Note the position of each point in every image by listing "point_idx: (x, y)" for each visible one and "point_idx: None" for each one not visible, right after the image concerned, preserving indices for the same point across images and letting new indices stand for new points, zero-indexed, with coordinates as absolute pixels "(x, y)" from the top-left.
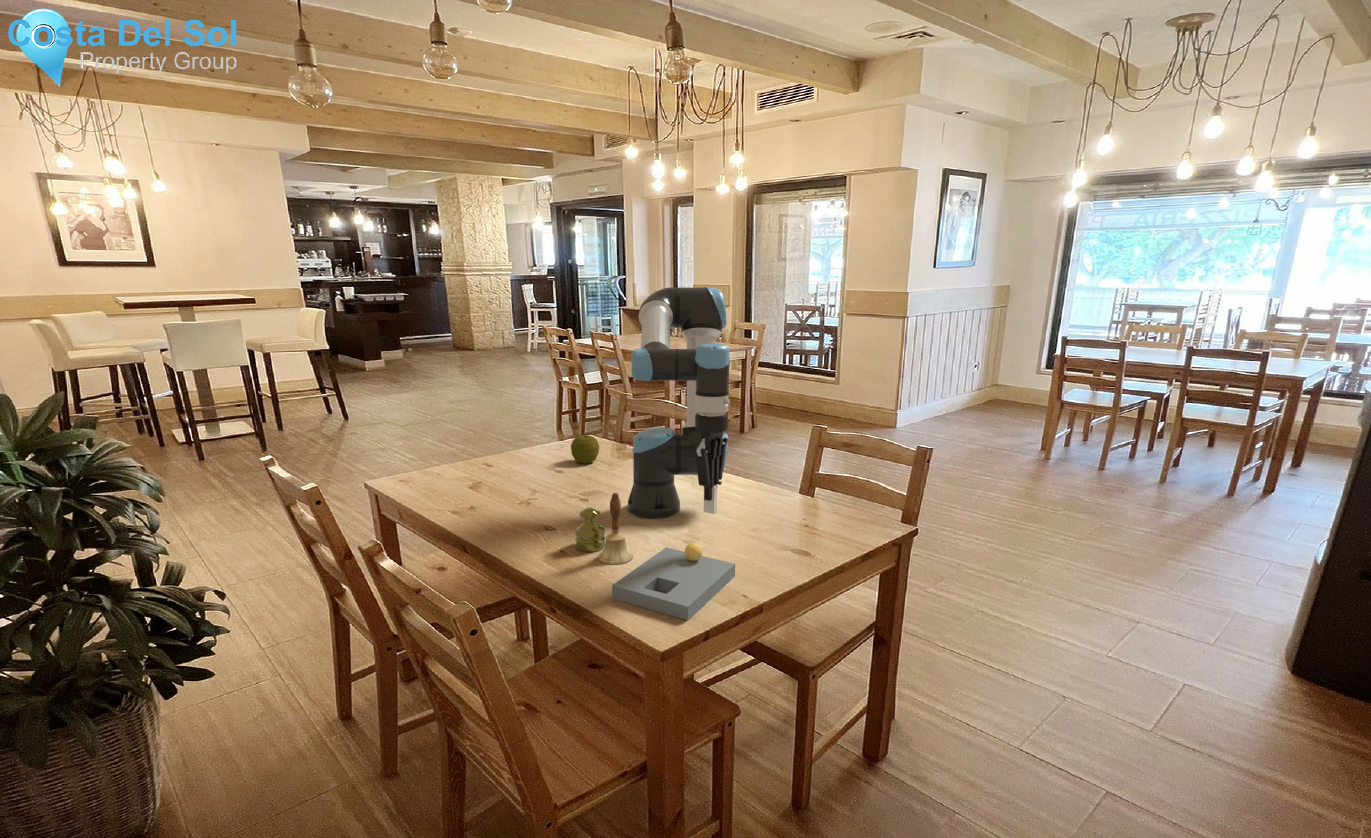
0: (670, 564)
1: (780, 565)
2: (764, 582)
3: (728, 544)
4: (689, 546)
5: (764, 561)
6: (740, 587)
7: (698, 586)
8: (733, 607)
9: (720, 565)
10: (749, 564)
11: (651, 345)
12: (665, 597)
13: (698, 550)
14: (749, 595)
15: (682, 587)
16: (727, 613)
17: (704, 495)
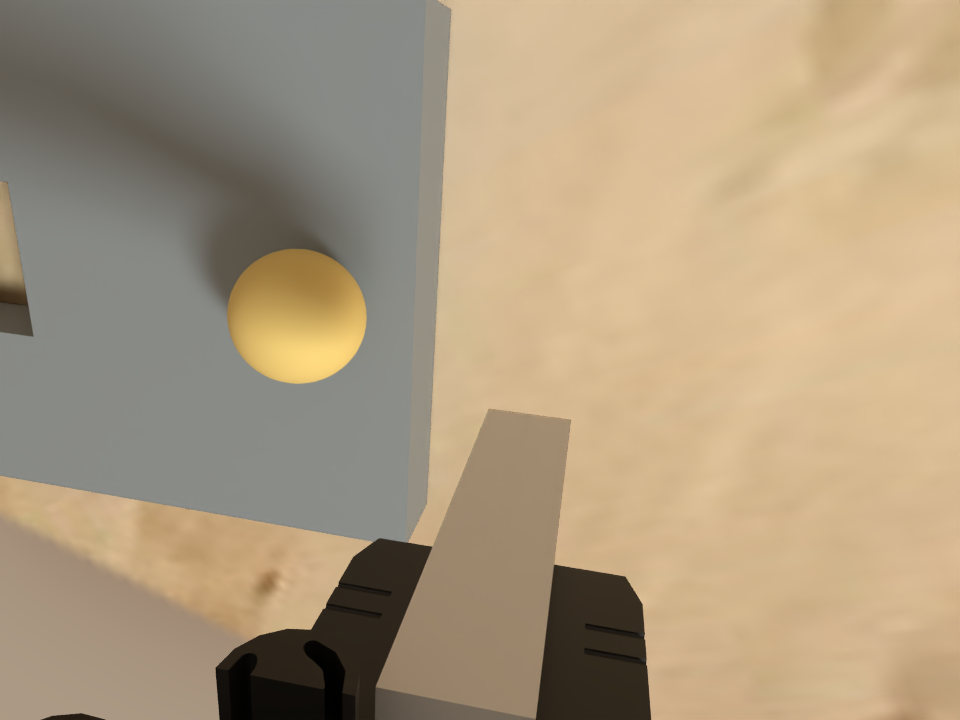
0: (188, 180)
1: (659, 685)
2: None
3: (887, 348)
4: (236, 311)
5: (680, 607)
6: (329, 552)
7: (65, 440)
8: (153, 561)
9: (341, 477)
10: (605, 542)
11: None
12: None
13: (263, 374)
14: (281, 601)
15: (7, 368)
16: (100, 550)
17: (336, 593)
